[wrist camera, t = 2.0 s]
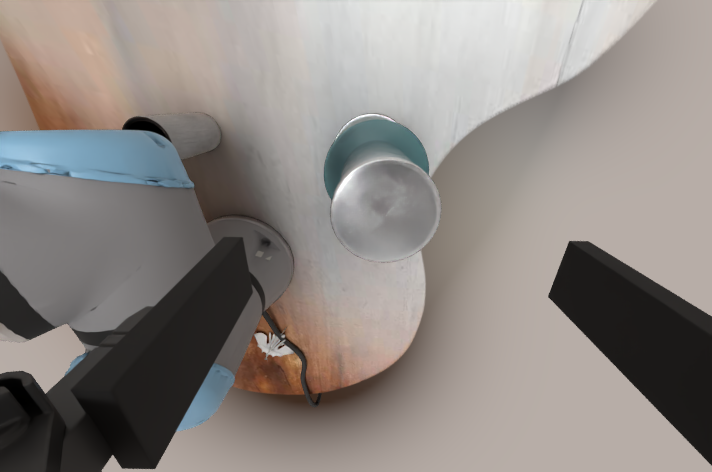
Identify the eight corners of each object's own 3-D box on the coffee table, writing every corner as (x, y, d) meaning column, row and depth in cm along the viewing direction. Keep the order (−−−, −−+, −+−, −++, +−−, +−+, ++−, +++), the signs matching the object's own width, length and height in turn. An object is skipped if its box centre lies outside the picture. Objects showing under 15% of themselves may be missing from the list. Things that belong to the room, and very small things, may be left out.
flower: (268, 311, 49) (265, 320, 46) (308, 330, 50) (307, 340, 48) (247, 342, 50) (243, 353, 48) (286, 360, 52) (284, 371, 49)
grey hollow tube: (224, 151, 36) (177, 168, 27) (189, 149, 36) (129, 166, 27) (218, 113, 34) (165, 117, 25) (180, 111, 34) (113, 115, 25)
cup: (409, 210, 28) (434, 263, 19) (340, 209, 28) (331, 262, 19) (416, 138, 25) (449, 159, 16) (339, 137, 25) (328, 157, 16)
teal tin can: (406, 193, 38) (423, 225, 28) (333, 192, 38) (324, 224, 28) (413, 113, 34) (436, 118, 24) (331, 112, 34) (320, 117, 24)
